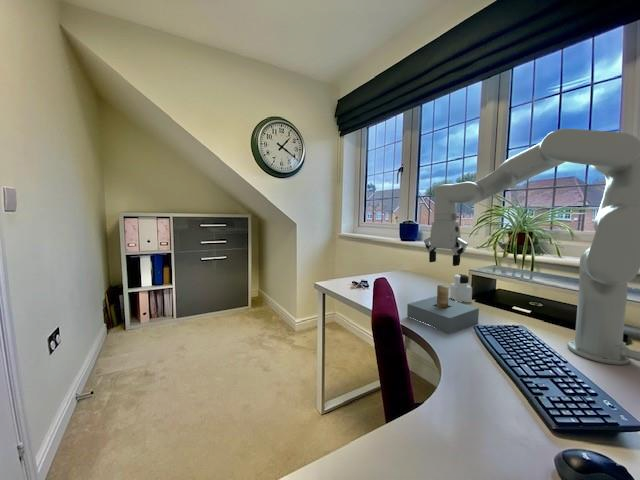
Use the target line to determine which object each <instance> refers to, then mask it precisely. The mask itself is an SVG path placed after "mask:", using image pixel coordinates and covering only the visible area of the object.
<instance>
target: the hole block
mask: <svg viewBox="0 0 640 480" xmlns="http://www.w3.org/2000/svg"><path fill="white" fill-rule="evenodd" d="M406 305H407V307H406V308H407V309H406V310H407V311H406V312H407V314H406V315H407V316H408V317H411V318H414V319H416V320H418V321H421V322H424V323H426V324H429V325H431V326H433V327H435V328H434V329H436V328H437V329H436V330H438V329H440V330H439V331H441V330H442V331H441V332H443V331H444V333H446V332H447V333H446V334H449V335H450V334H453V333H455V332H458V331H461V330H463V329H465V328H468V327H469V326H470V327H471V326H472V325H475V324H478V323H479V314H480V313H479V311H480V308H479V307H476V306H472V305H470V304H469V305H468V304H466V303H463V302H455V301H454V300H452V299H448V308H446V309H442V308H439V307H437V295H435V296H433V297H432V296H431V297H428V298H425V299H421V300H417V301H414V302H413V301H412V302H409V303H407V304H406ZM407 316H406V317H407ZM408 317H407V318H408ZM418 321H417V322H418ZM477 322H478V323H477ZM431 326H430V327H431ZM467 326H468V327H467ZM433 327H432V328H433ZM462 328H463V329H462ZM457 330H458V331H457ZM452 332H453V333H452Z"/></svg>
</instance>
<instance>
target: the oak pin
mask: <svg viewBox="0 0 640 480" xmlns="http://www.w3.org/2000/svg"><path fill="white" fill-rule="evenodd" d="M436 292H437V293H436V296H437V307H439V308H442V309H446V308H448V300H449V298H450V294H449V293H450V287H449V286H448V285H445V284H444V285H443V284H438V285H437V289H436Z"/></svg>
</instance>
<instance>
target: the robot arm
mask: <svg viewBox="0 0 640 480" xmlns="http://www.w3.org/2000/svg"><path fill="white" fill-rule="evenodd" d="M564 163H571V164H576V165H577V164H579V165H586V166H590V167H591V168H592V169H593V170H595V171H597V172H599V173H601V174H602V175H603V176H604V178H605V187H604V191H603V196H602V199H601V203H600V206H599V208H598V211H597V214H596V216H595V218H594V219H593V220H594V221H593V229H594V236H593V238H592V239H593V240H592V242H591V246H590V247H588V248H587V249H586V250H584V251H583V253H582V254H581V256H580V258H579V280H578V281H579V282H578V283H579V286H578V295H577V296H578V297H577V308H576V321H575V334H574V335H575V336H574V339H572V340H569V341H568V342H567V345H566V346H567V349H569V350H570V351H571V352H572V353H574V354H575V355H578V356H580V357H582V358H585V359H588V360H591V361H595V362H598V363H603V364H608V365H609V364H610V365H618V366H619V365H626V364H629V363H630V359H632V360H634V361H637V362H640V351H638V350H635V349H629V347H627V343H626V342H625V341H624V329H625V320H626V319H625V317H626V310H627V309H626V308H627V300H628V282H630V281H632V280H633V279H635V278H636V276H637V275H638V273H639V271H640V139H639V138H638V137H636V136H634V135H633V134H630V133H627V132H622V131H621V132H620V131H605V130H593V129H583V128H582V129H579V128H559V129H555V130H553V131H551V132H549V133H547V135H546V136H545V137H543V138H542V140H541V142H539V143H537V144H535V145H533V146H532V147H529V148H528V149H527V148H526V149H525V150H523V151H521V152H520V153H518V154H516V155H513V156H511V157H510V158H508V159H506V160H505V161H504V162H502V163H501V164H500V165H499V166H498V167H497V168H496V169H495V170H494V171H492V172H491V173H489V174H487V175H486V176H484V177H482V178H480V179H477V180H476V181H474V182H472V181H464V182H457V183H453V184H452V183H447V184H446V183H444V184H438V185H436V186H435V187H434V198H433V199H434V201H433V202H434V205H433V208H434V209H433V210H434V211H433V221H432V224H431V228H430V235H429V236H430V237H427V238H426V239H424V240H423V243H424V245H425V248H426V249H427V252H428V254H429V255H428V257H429V261H428V262H429V263H436V262H437V252H436V250H437V249H442V250H443V249H444V250H451V251H452V252H453V255H452V266H453V267H457V266H460V263H461V255H462V254H463V253H464V252H465V251H466V248H467V247H468V245H469V243H468V242H466V241H465V240H463V239H462V238H461V229H460V223H459V221H457V219H460V215H459V214H458V213H457V207H458V206H457V204H465V205H466V204H467V205H474V204H477V203H480V202H482V201H484V200H487V199H489V198H492V197H494V196H495V195H497V194H500V193H502V192H504V191H506V190H508V189H511V188H513V187H515V186H517V185H518V184H521V183H524V182H525V181H528V180H529V179H531V178H534V177H535V176H538V175H541V174H542V173H544V172H546V171H549V170H551V169H554V168H556V167H558V166H560V165H562V164H564Z"/></svg>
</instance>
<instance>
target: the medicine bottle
mask: <svg viewBox="0 0 640 480" xmlns="http://www.w3.org/2000/svg"><path fill="white" fill-rule="evenodd" d="M469 278H470V277H469V276H468V275H466V274H460V273H459V274H458V273H457V274H455V275H453V283H450V287H449V293H450V294H449V298H450V297H451V298H452V299H451V298H450V299H451V300H453V299H454V300H455V301H464V302H463V303H472V300H473V299H472V297H473V286H471V285H469V281H470V279H469ZM454 300H453V301H454ZM467 301H468V302H467Z"/></svg>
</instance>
